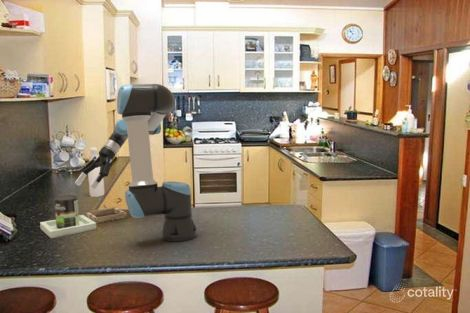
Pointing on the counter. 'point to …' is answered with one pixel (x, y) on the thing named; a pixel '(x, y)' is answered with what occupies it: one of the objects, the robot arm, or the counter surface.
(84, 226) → the tray
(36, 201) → the counter surface
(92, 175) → the alcohol
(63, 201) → the coffee can
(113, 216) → the collar
